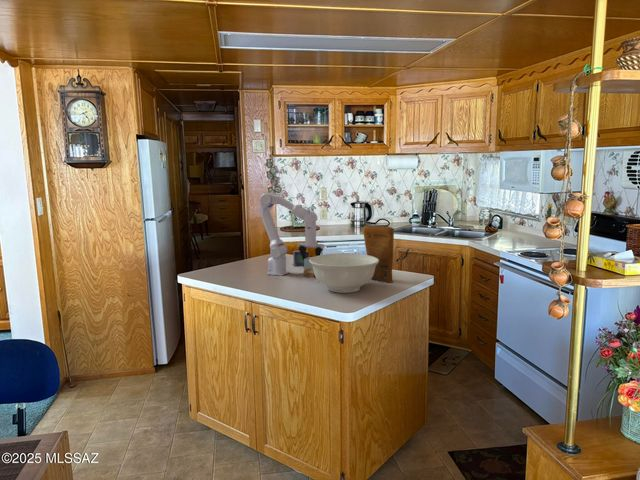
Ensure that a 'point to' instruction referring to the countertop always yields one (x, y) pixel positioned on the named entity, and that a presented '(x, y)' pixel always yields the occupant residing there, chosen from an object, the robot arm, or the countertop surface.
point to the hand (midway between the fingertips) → (310, 260)
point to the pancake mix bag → (380, 250)
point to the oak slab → (308, 271)
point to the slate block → (307, 263)
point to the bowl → (344, 271)
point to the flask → (298, 258)
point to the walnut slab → (308, 275)
